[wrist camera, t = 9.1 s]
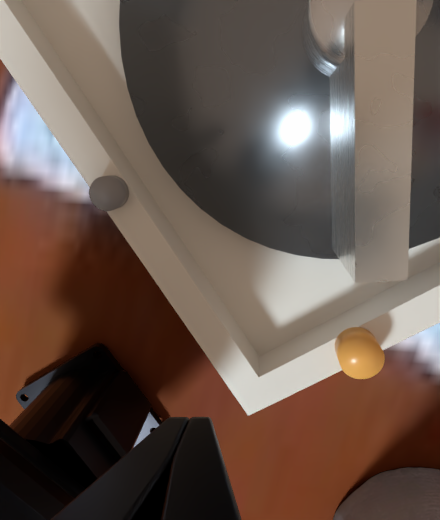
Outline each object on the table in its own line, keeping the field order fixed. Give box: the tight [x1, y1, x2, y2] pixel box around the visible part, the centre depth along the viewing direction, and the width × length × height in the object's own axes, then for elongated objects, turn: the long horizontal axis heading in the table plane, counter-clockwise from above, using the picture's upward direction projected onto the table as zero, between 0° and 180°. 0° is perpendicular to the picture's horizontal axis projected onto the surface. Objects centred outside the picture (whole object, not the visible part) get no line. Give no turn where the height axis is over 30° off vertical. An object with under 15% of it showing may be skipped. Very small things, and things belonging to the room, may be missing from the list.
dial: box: [119, 0, 440, 283], centre depth 13 cm, size 18×18×6 cm
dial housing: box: [0, 0, 440, 416], centre depth 15 cm, size 24×24×4 cm
